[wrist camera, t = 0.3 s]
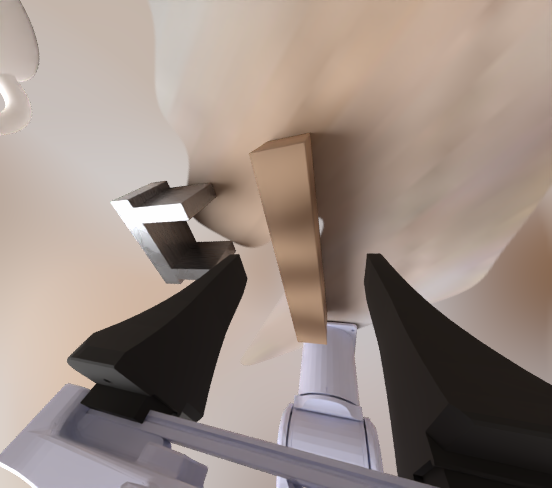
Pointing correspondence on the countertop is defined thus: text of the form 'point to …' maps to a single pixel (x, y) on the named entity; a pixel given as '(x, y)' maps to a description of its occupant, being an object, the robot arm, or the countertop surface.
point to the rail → (294, 229)
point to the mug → (16, 65)
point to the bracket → (171, 229)
